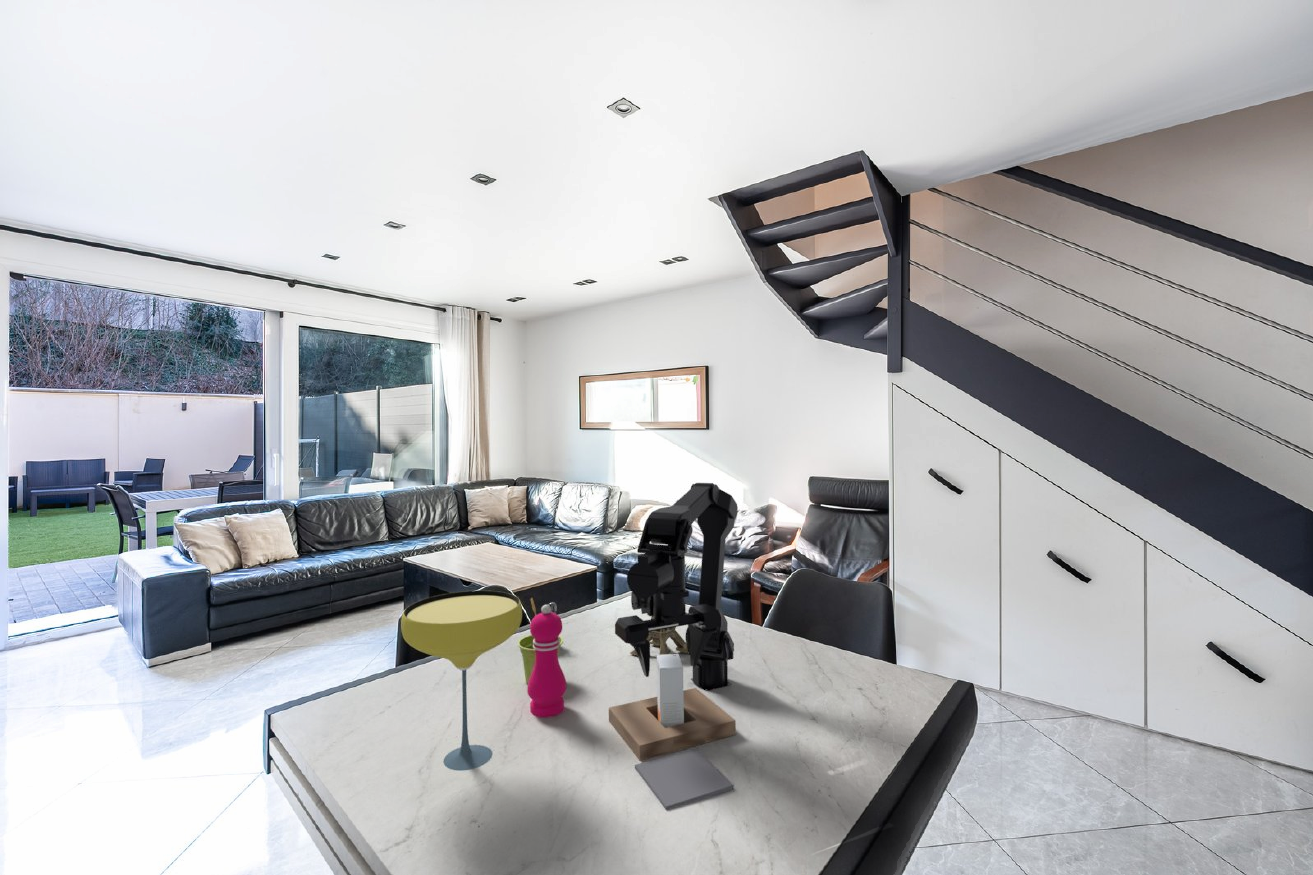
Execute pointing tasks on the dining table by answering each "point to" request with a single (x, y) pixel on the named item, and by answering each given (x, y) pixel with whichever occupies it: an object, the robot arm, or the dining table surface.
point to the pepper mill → (546, 666)
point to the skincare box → (670, 690)
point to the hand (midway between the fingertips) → (670, 671)
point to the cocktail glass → (462, 643)
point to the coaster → (683, 778)
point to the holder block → (656, 740)
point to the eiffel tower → (661, 637)
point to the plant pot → (530, 654)
